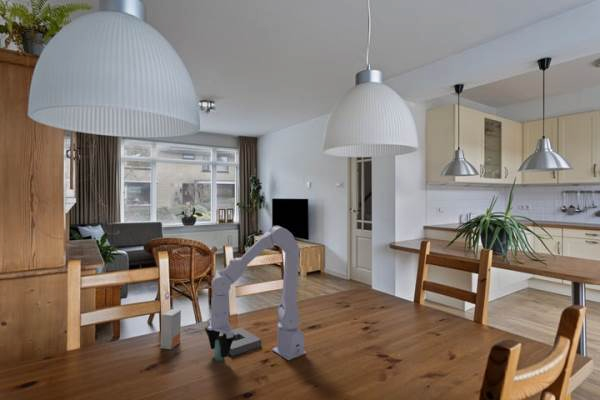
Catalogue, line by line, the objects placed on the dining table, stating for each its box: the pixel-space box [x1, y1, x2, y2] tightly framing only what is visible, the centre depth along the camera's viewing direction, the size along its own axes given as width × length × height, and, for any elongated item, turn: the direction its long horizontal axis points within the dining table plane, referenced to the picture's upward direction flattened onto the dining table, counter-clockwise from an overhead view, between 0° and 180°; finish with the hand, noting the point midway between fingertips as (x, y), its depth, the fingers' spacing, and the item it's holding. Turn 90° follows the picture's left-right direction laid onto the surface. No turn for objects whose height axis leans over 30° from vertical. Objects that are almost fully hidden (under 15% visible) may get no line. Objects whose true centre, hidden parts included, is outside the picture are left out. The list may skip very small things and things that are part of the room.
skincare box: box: [160, 309, 182, 350], centre depth 117 cm, size 6×4×12 cm
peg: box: [214, 339, 225, 362], centre depth 108 cm, size 3×3×6 cm
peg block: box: [219, 327, 262, 357], centre depth 119 cm, size 14×12×2 cm
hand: (219, 352), depth 108 cm, fingers open, 7 cm apart
